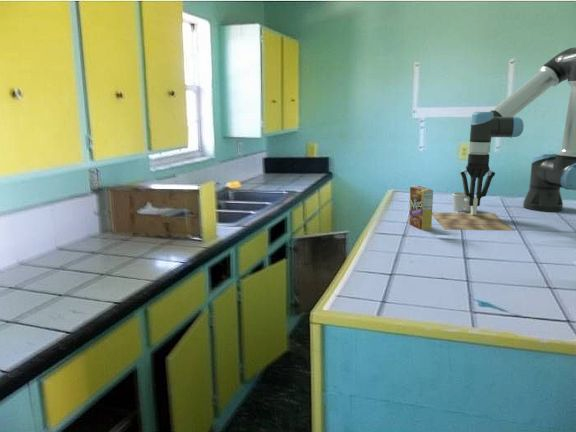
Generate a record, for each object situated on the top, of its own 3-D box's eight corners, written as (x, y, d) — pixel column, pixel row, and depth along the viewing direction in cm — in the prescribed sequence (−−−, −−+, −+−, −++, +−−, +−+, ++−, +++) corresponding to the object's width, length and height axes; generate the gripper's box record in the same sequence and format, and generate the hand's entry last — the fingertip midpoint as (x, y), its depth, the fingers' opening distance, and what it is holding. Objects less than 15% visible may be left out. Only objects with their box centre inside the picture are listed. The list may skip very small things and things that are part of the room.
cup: (476, 216, 200) (478, 196, 198) (456, 216, 200) (458, 196, 198) (467, 210, 210) (469, 191, 208) (448, 210, 210) (450, 192, 208)
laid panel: (500, 222, 189) (501, 219, 188) (515, 233, 173) (515, 230, 173) (435, 222, 191) (435, 218, 191) (444, 232, 175) (444, 229, 175)
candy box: (407, 227, 183) (409, 186, 180) (418, 226, 184) (420, 185, 181) (420, 233, 175) (423, 190, 171) (431, 232, 176) (434, 189, 173)
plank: (494, 216, 197) (494, 213, 196) (500, 222, 189) (500, 219, 189) (431, 215, 199) (431, 212, 199) (435, 221, 191) (435, 218, 191)
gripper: (493, 152, 193) (488, 212, 198) (459, 152, 194) (454, 211, 199) (499, 154, 185) (493, 216, 191) (463, 153, 187) (458, 215, 192)
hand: (473, 214), depth 195 cm, fingers closed
